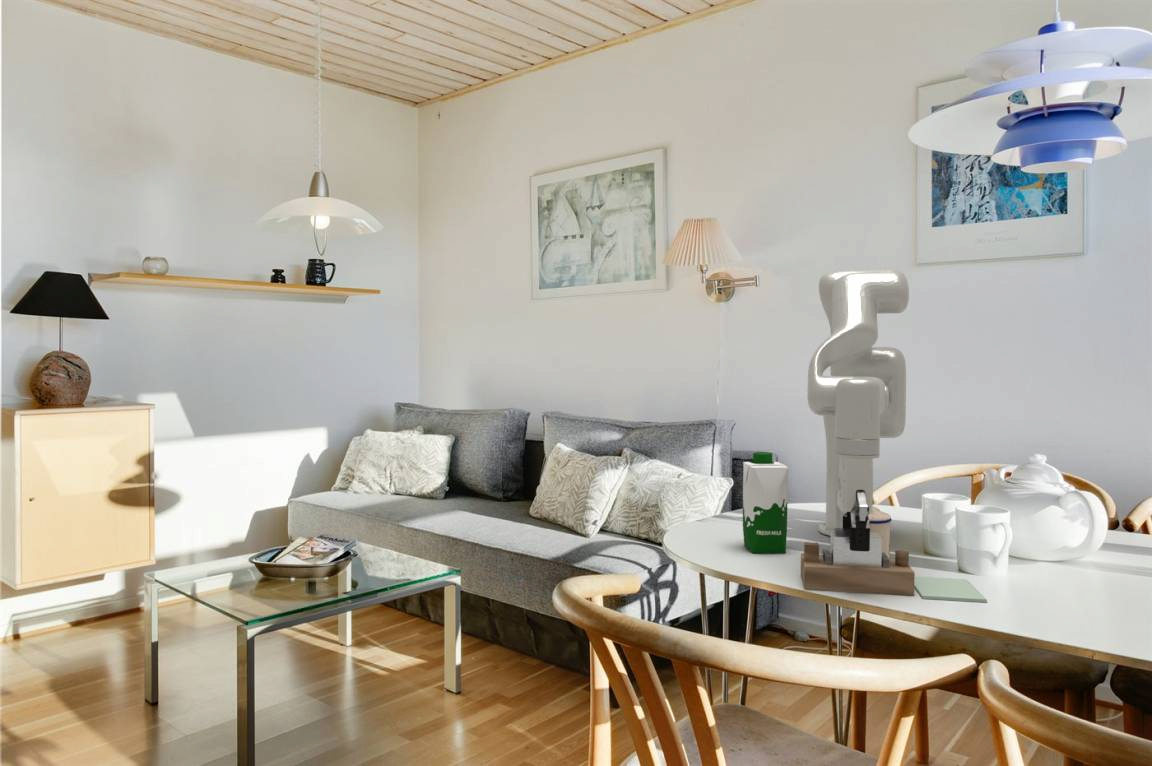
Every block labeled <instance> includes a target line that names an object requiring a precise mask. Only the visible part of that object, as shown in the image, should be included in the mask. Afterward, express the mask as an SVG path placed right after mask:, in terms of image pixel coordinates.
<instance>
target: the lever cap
mask: <svg viewBox="0 0 1152 766" xmlns="http://www.w3.org/2000/svg"><path fill="white" fill-rule="evenodd" d="M829 537H830V542H829V543H830V545H829V546H830V549H829V552H830V554H831V556H832V563H833V565H841V566H860V567H879V568H881V564H882V539H881V537H880V536H879V535H878V533H872V532H870V550H869V551H868V552H866V551H851V550H850V529H847V528H834V531H831V535H830V536H829Z"/></svg>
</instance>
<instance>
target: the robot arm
mask: <svg viewBox="0 0 1152 766" xmlns="http://www.w3.org/2000/svg"><path fill="white" fill-rule="evenodd" d="M818 293H819V298H820V299H819V300H820V301H821V302H820V303H821V305H822V307H823V310H824V313H825V315H826V319H827V320H828V324H829V328H830V335H829V336H828V337H827V338H826V339H824V341H823V342H822V343H821V344H820V345H818V347H817V349H816V350H815V351H814V353H813V355H812V357H811V359H810V361H809V365H808V372H807V405H808V407H809V409H810V410H811V412H812V413H814V414H815V415H817V416H822V418H823V425H824V432H825V441H826V442H825V443H826V444H825V446H826V448H825V449H826V482H825V483H826V484H825V485H826V489H825V490H826V491H825V492H826V493H825V494H826V497H825V498H826V499H825V503H826V504H825V522H823V523H821V524H819V526H818V531H819V533H821V534H823V535H825V536H829V537H830V535H831V531H834V528H842V522H843V528H847V529H850V550H851V551H866V552H868V551H869V550H870V528H869V514H871V513H872V505H873V504H874V503H873V501H874V500H873V499H874V460H873V459H879V458H880V452H881V451H880V446H881V441H880V440H881V439H895V438H899V437H901V436H902V434H903V433H904V431H905V427H906V415H907V414H906V412H907V409H906V407H907V400H906V399H907V366H906V365H907V364H906V359H905V356H904V354H903V352H902V351H901V350H900V349H898V348H896V347H889V346H888V347H887V346H883V347H882V346H878V347H877V346H874V345H875V344H876V343H877V341H878V338H879V330H878V329H879V328H878V314H883V315H884V314H885V315H886V314H901V313H903V312H904V311H905V310H906V309H907V307H908V304H909V301H910V287H909V283H908V279H907V277H906V276H905V274H904V273H903V271H901V270H900V269H896V268H888V269H886V268H884V269H882V268H880V269H878V268H877V269H845V270H844V269H841V270H834V271H833V270H832V271H830V272H827V273H824V274H823V275H822V276H821V277H820V279H819V282H818ZM829 367H830V369H829V370H830V375H824V372H825V371H826V370H827V369H828V368H829ZM843 515H844V516H843Z"/></svg>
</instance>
